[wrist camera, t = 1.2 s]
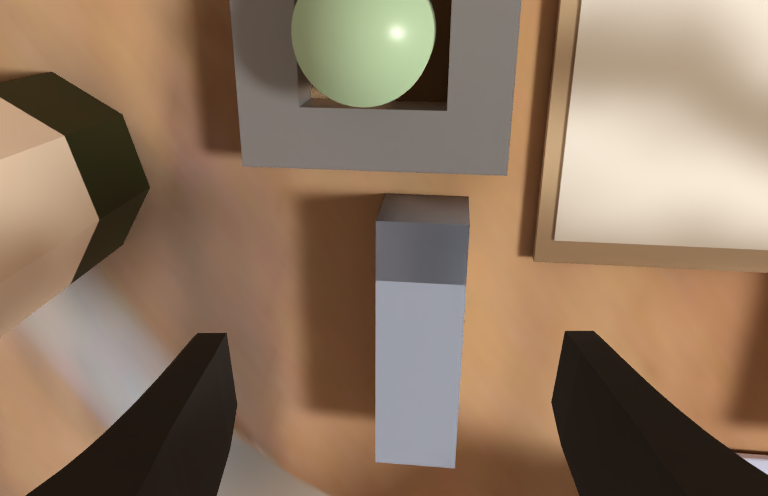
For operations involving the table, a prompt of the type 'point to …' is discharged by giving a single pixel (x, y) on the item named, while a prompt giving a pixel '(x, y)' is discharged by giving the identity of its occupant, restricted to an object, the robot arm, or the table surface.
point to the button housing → (384, 122)
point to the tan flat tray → (657, 136)
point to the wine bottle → (59, 189)
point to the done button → (363, 47)
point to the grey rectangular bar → (419, 327)
